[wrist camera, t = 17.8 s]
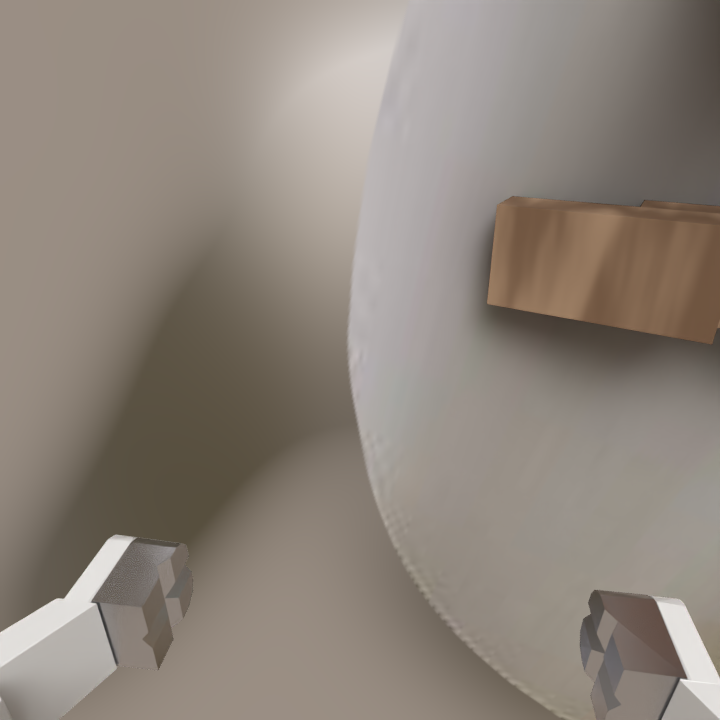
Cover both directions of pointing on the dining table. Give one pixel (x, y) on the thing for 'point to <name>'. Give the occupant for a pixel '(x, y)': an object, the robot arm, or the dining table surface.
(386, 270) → the dining table surface
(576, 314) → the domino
